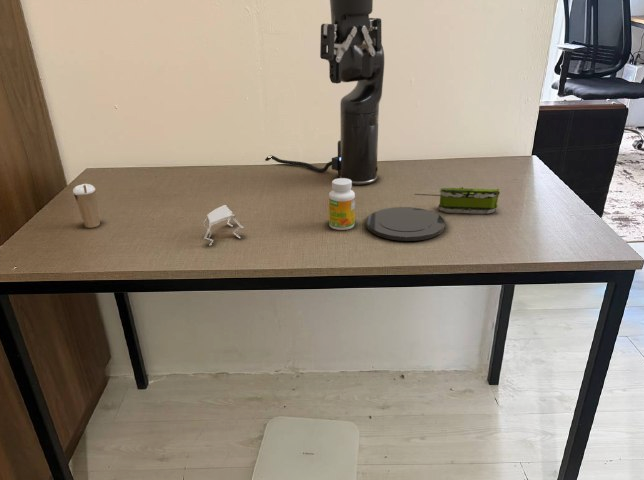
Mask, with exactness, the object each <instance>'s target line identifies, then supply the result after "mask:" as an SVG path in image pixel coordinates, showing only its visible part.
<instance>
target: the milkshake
mask: <svg viewBox="0 0 644 480" xmlns="http://www.w3.org/2000/svg"><path fill="white" fill-rule="evenodd" d="M72 194H73V196H74V199H75V202H76V204H77V206H78V209H79V213H80V215H81V219H82V221H83V224H84V227H85V228H88V229H93V228H96V227H97V228H98V227H99V226H100V225H101V220H100V213H99V208H98V207H99V206H98V201H97V200H98V199H97V192H96V187H95V186H94V185H92V184H89V183H81V184H79V185H75V187H73V189H72Z"/></svg>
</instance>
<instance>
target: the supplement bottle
mask: <svg viewBox="0 0 644 480" xmlns="http://www.w3.org/2000/svg"><path fill="white" fill-rule="evenodd" d="M352 187H353V185H352V181H351V180H350V179H346V178H338V177H337V178H334V179H333V180H332V181H331V189H332V190H330V191H329V193H328V224H329V225H328V226H329V227H330V229H333V230H338V231H347V230H350V229H352V228H354V227H355V224H356V193H355V191H354V190H353V189H352Z"/></svg>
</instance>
